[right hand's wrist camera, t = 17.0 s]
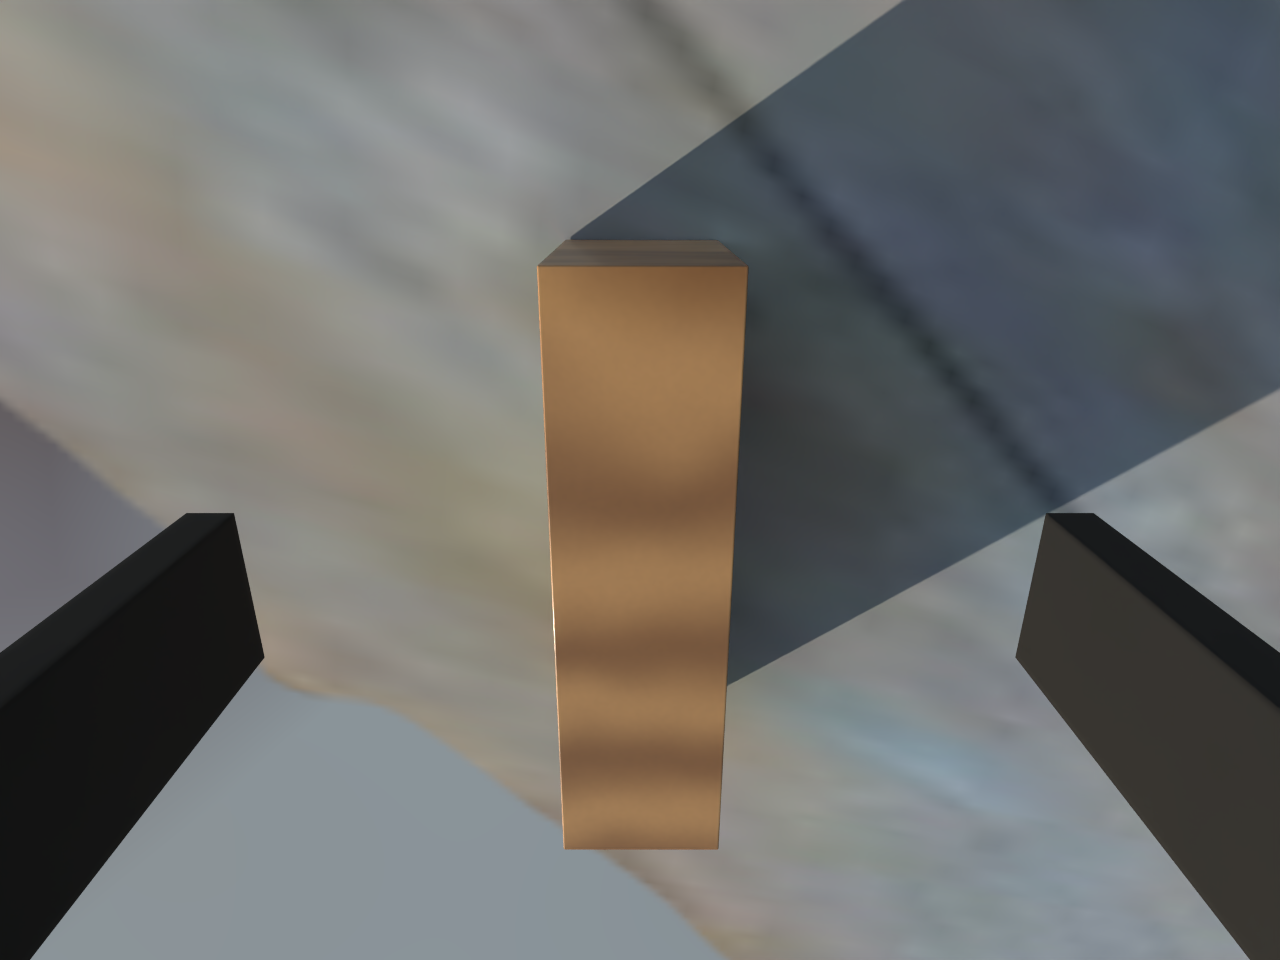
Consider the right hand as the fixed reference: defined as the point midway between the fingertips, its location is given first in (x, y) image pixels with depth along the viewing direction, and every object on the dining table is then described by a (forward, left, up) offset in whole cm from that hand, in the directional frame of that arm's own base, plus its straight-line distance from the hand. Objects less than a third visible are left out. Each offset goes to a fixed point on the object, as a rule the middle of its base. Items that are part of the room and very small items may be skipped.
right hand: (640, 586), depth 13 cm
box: (+7, +2, -20) cm, 21 cm away
